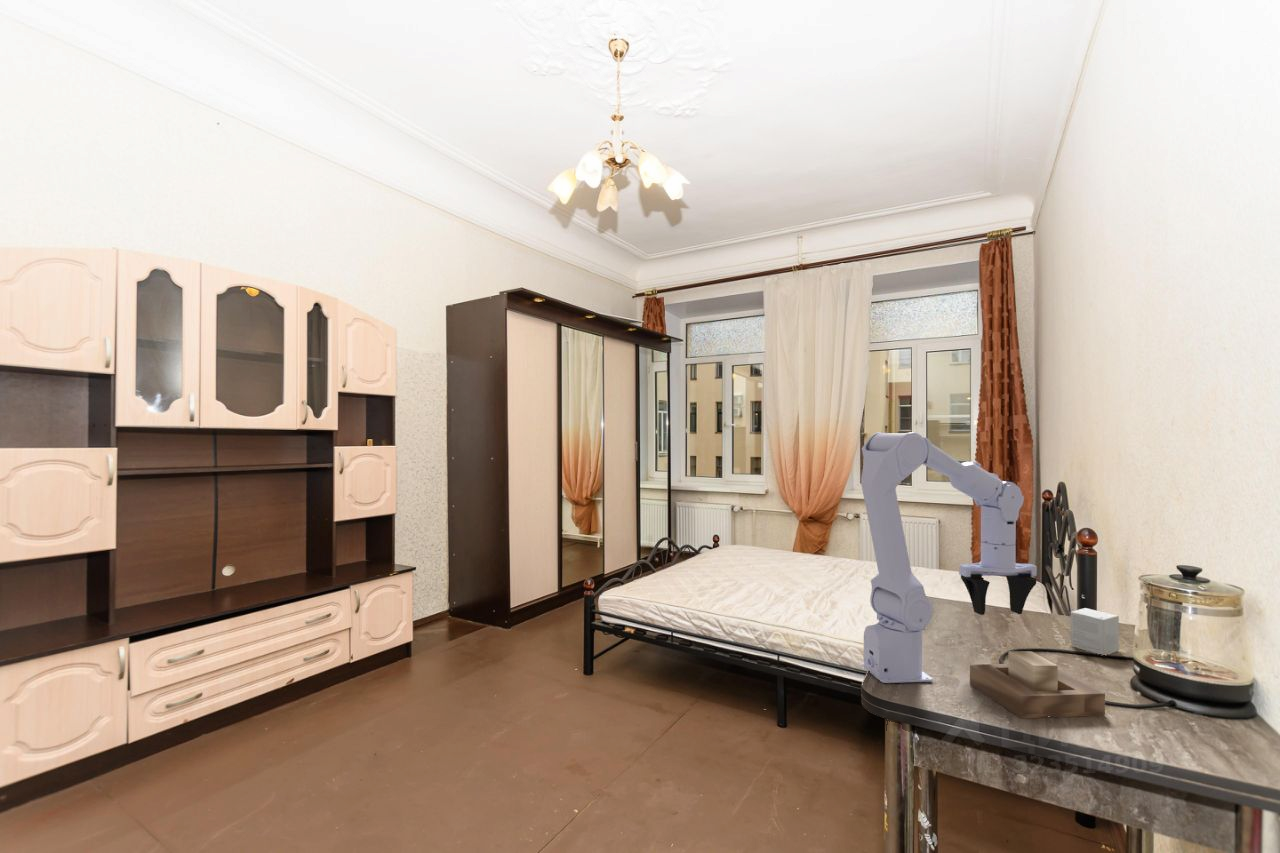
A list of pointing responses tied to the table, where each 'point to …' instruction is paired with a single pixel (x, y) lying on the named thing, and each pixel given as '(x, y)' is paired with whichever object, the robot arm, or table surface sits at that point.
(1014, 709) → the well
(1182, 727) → the table surface
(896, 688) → the table surface
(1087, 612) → the product box
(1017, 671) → the beige wooden block
